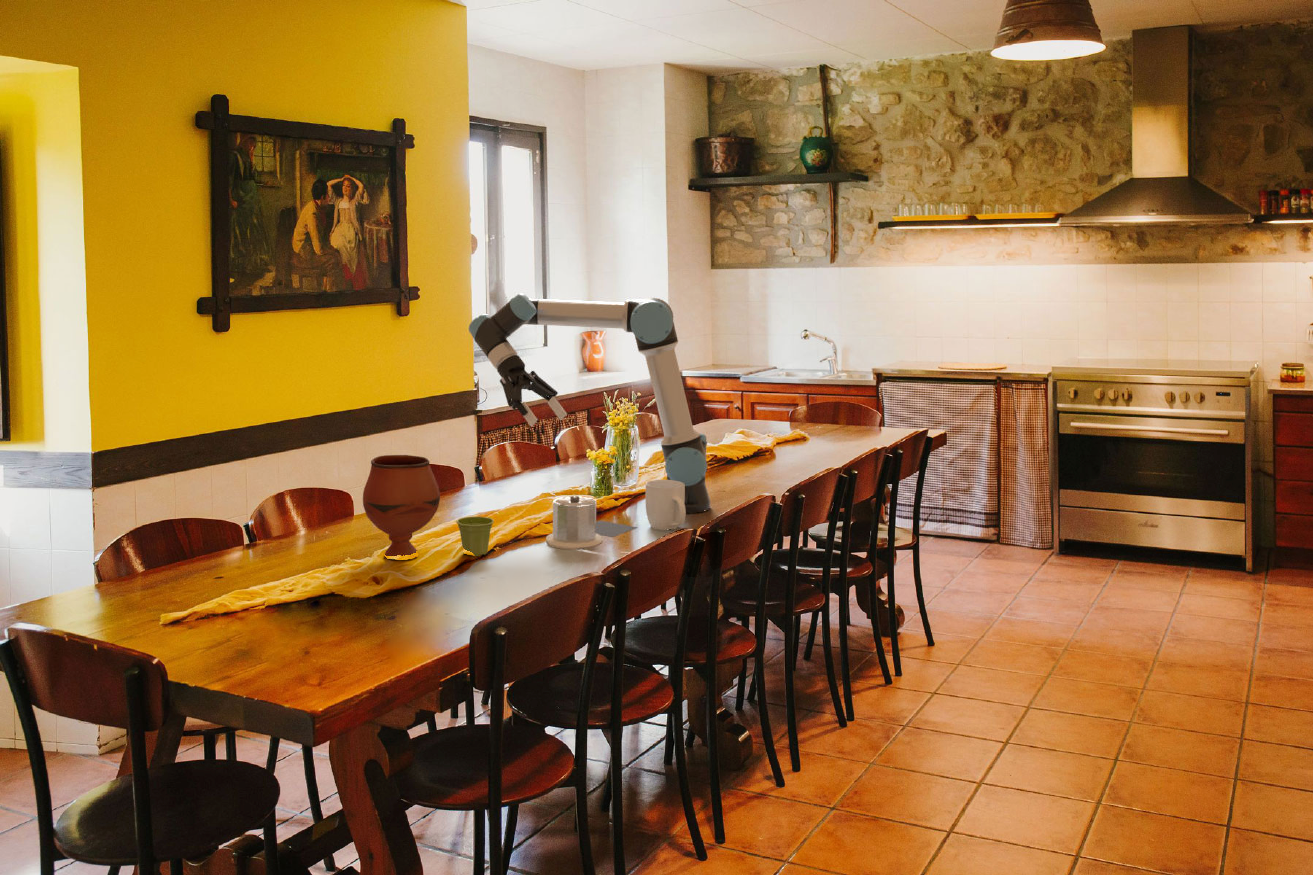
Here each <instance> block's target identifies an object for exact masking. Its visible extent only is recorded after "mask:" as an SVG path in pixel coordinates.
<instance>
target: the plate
mask: <svg viewBox="0 0 1313 875" xmlns="http://www.w3.org/2000/svg"><path fill="white" fill-rule="evenodd" d="M545 538H546V542H545V543H546V545H548V546H550V547H552V548H556V549H561V550H567V551H569V550H570V551H575V550H580V551H581V550H583V548H590V547H595V546H598V545H600V544H601V543H603V541H604V540H603V539H604V538H603V535H599V534H596V538H595V540H593V541H590V542H586V543H564V542H559V541H556V540H554V539H553V532H552V533H550V534H548V535H546V537H545Z"/></svg>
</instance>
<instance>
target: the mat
mask: <svg viewBox="0 0 1313 875" xmlns="http://www.w3.org/2000/svg"><path fill="white" fill-rule="evenodd" d="M636 529H638V526H632V525H626V524H622V523H615V522H611V521H604V520H598V521H597V520H596V534H599V535H601V536H602V537H603V536H604V537H609V538H614V537H617V536H619V535H622V534H625V533H627V532H631V531H633V530H636Z"/></svg>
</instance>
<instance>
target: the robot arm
mask: <svg viewBox="0 0 1313 875" xmlns="http://www.w3.org/2000/svg"><path fill="white" fill-rule="evenodd" d="M523 325H524V326H525V325H533V326H534V325H535V326H536V325H539V326H560V327H578V328H579V327H580V328H583V327H584V328H601V329H604V328H605V329H620V330H621V329H623V330H624V331H625V332H626V333H633V334H634V337H635V341H636V346H637V350H638V353H640V354H642V355H644V357H645V361H646V365H647V370H648V374H649V377H650V381H651V382H650V383H651V385H652V390H653V394H654V398H655V402H656V407H657V410H658V415H659V419H660V423H661V427H662V428H661V429H662V430H663V435H664V436H663V438H662V440H661V442H660V445H661V446H660V447H661V450H662V454H663V458H664V462H665V465H664V468H665V473H666V480H674V481H679V482H682V483H684V484H685V502H684V505H685V510H686V514H697V512H699V513H702V512H701V511H704V510H708V509H709V508H710V509H711V499H710V496H709V492H708V490H707V486H706V473H707V469H708V463H707V445H708V442H707V436H706V435H705V434H704V433H699V432H698V431H696V430H695V429H694V426H693V423H692V417H691V414H690V410H689V404H688V402H687V397H686V393H685V388H684V384H683V379H682V376H681V370H680V367H679V363H678V359H677V354H676V350H675V349H676V347H677V344H679V340H678V335H677V331H676V327H675V322H674V313H673V310H672V307H671V306H670V305H669V304H668V303H667V302H666V301H664V300H663V299H661V298H657V297H650V298H642V299H626V300H625V301H624V302H617V301H616V302H614V301H613V302H611V301H608V302H607V301H588V300H585V301H583V300H564V299H562V300H561V299H544V298H543V299H535V298H534V299H533V298H529V297H528V296H527V295H525V294H524V293H521V292H520V293H518V294H517V295H515V296H514V297H513V298H511V299H510V300H509V301H508V302H506V304H505V305H504V306H502V307H501V308H499V310H498V311H497V312H495V313H494V314H493V315H492V316H490V315H489V314H487V313H485V314H484V313H483V314H480V315H479V316H478V317H475V318H474V319H473V320H472V321H471V322H470V324H469V325H468V331H469V334H470V335H471V336H472V339H473V340H474V342H475V343H476V344H477V346H478V347H479V348H480V350H481V351H482V352H483V354H484V355H485V356H486V357H487V359H488V360H489V362H490V363H491V364H492V366H493V367H494V369H495V370H496V371H497V373H498V375H499V376H500V377H501V378H500V379H499V382H500V384H501V385H502V386H501V387H502V388H503V391H504V394H505V395H504V396H505V398H506V403H507V405H508V407H510V408H512V410H518V412H519V413H520V415H522V416H523V418H524V419H525V421H526V422H527V423H528V425H529V426H530V427H533V426H534V425H535V424H536V423H537V421H538V420H539V419H538V418H537V416H535V414H534V413H533V411H532V409H531V408H530V407H529V405H528V404H527V402H525V401H523V395H522V394H523V392H522V390H528V391H532V392H534V393H535V394H536V395H538V396H539V397H541V398H542V399H544V400H545V401H547V404H548V406H549V408H550V409H551V410H552V411H553V413H554V415H556V417H557V418H558V420H559V421H562V420H563V419H564V418H565V417H566V416H567V415H568V413H567V412H566V410H565V409H564V408H563V406H562V405H561V403H560V402H559V400H558V399H557V398H556V396H557V395H558V394H559V392H558V391H557V390H556V389H554V388H553V387H552V386H551V385H549V384H548V383H547V382H546V381H545V380H544V379H542V378H541V377H540V376H539V375H538V374H537V373H536V371H534V370H531V371H530V372H527V370H526V369H525V367H526V364H525V362H524V361H523V359H521V358H522V357H520V356H519V355H518V352H517V350H516V349H514V347H513V345H512V344H511V343H510V342H509V341H508V338H509V337H510V336H511V335H513V334H514V333H515V332H516V331H518V330H519V329H520V328H521V327H523ZM710 509H709V510H710ZM709 510H708V511H709Z"/></svg>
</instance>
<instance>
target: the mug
mask: <svg viewBox="0 0 1313 875" xmlns="http://www.w3.org/2000/svg"><path fill="white" fill-rule="evenodd" d="M684 502H685V484H684V483H682V482H679V481H674V480H667V479H655V480H654V479H653V480H649V481H646V483H645V512H646V516H647V521H648V523H649V525H650V527H651V528H652V529H654V530H657V529H662V530H661V531H670V530H669V529H674V530H677V529H678V528H679V527H680V526H682V525H683V524H684V523H685V521H686V517H687V515H686V514H687V513H686V510H685V505H684ZM667 529H668V530H667Z"/></svg>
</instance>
